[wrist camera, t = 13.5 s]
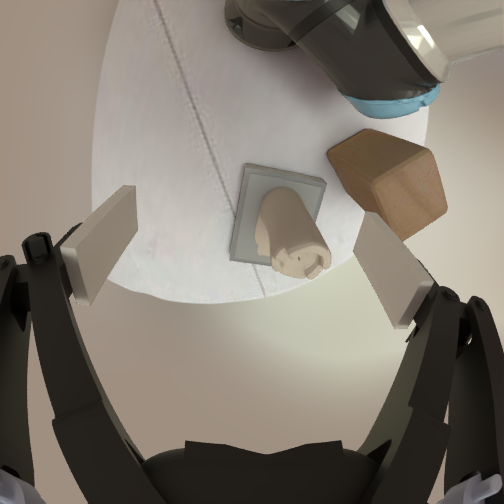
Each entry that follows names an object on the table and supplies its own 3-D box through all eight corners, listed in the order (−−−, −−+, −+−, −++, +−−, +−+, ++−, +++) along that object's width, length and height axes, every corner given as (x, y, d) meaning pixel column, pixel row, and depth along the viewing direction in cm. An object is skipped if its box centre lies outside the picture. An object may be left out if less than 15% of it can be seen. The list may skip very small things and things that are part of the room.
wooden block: (347, 195, 50) (397, 248, 33) (323, 151, 45) (371, 185, 28) (388, 171, 47) (451, 212, 30) (368, 125, 43) (434, 147, 26)
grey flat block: (245, 163, 46) (246, 167, 43) (322, 178, 48) (327, 184, 45) (229, 252, 55) (229, 261, 52) (297, 261, 57) (300, 270, 54)
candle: (248, 253, 52) (252, 334, 35) (266, 182, 45) (283, 240, 28) (285, 259, 53) (304, 339, 36) (307, 192, 46) (346, 252, 29)
